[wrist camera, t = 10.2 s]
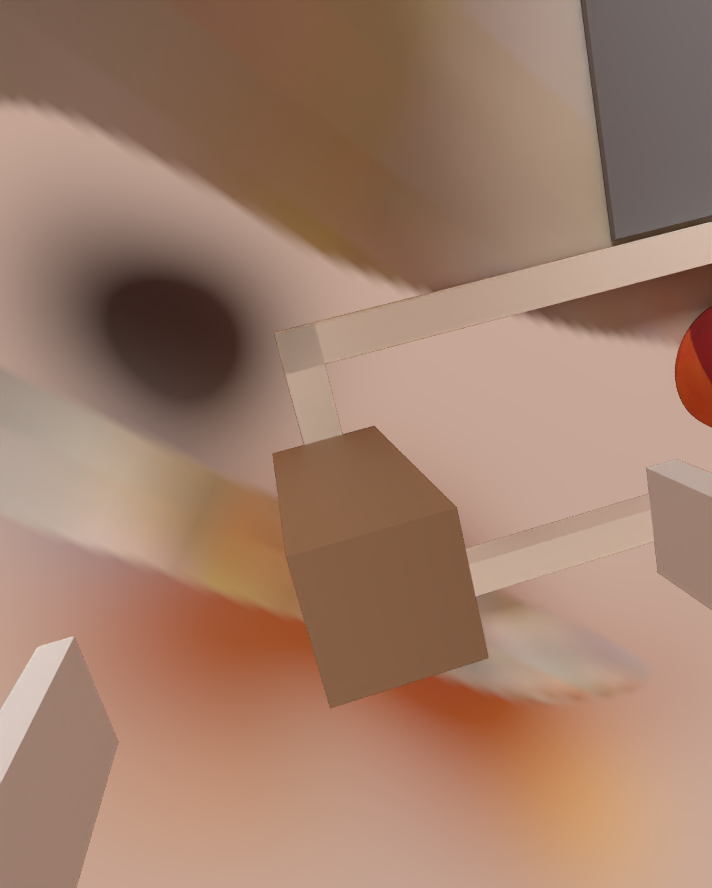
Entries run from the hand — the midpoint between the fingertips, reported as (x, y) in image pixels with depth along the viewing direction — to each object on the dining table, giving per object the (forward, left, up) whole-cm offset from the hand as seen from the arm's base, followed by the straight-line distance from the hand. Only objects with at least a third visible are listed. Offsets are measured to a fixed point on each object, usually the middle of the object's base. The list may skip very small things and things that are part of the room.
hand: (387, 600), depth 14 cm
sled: (+11, 0, -12) cm, 17 cm away
